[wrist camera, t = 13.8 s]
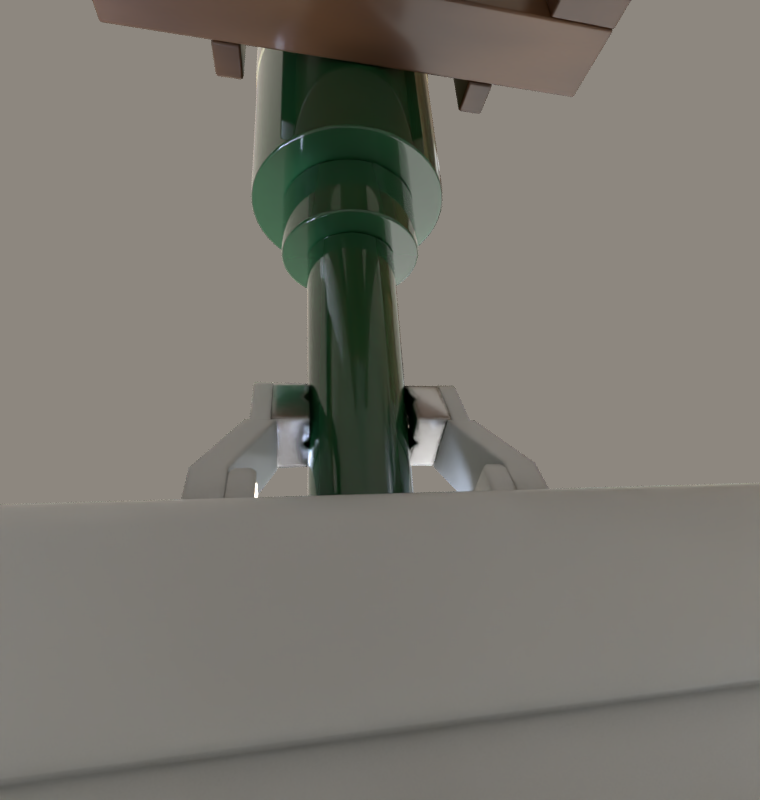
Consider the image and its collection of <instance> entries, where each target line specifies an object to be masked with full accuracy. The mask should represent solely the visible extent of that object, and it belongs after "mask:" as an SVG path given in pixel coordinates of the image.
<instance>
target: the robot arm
mask: <svg viewBox="0 0 760 800" xmlns="http://www.w3.org/2000/svg"><path fill="white" fill-rule="evenodd" d="M405 398H406V410H407V422H408V434H409V446H410V458H411V465H425V466H426V465H428V466H429V465H430V466H434V468H435V469H436V470H437V471H438V472H439V473H440V474H441V475H442V476H443V477H444V478H445V479H446V480H447V481H448V482H449V483H450V484H451V485H452V486H453V487H454V488H455V489H456V491H457V492H426V493H425V492H424V493H390V494H356V495H321V496H286V497H258V494H259V493H260V492H261V490H262V489H263V488H264V486H265V485H266V484H267V482H268V481H269V480H270V478H271V477H272V476H273V475H274V473H275V472H276V470H277V468H289V467H290V468H292V467H307V463H308V438H309V420H310V417H309V402H308V399H309V386H308V384H301V383H275V382H274V383H272V382H255V383H254V386H253V394H252V403H251V412H250V419H244V420H243V421H242V422H241V423H240V424H238V425H237V426H236V427H235V428H234V429H233V430H232V431H230V432H229V433H228V434H227V435H226V436H225V437H224V438H222V439H221V440H220V441H219V442H218V443H217V444H215V445H214V446H213V447H212V448H211V449H210V450H209V451H207V452H206V453H205V454H204V455H203V456H202V457H200V459H198V460H197V461H196V462H195V463H194V464H192V465H191V466H190V467H189V469H188V473H187V477H186V481H185V485H184V489H183V493H182V497H181V499H179V500H143V501H110V502H109V501H107V502H73V503H72V502H71V503H35V504H2V505H1V504H0V800H760V483H739V484H704V485H670V486H636V487H602V488H564V489H549V488H548V486H547V485H546V482H545V480H544V479H543V477H542V475H541V473H540V471H539V469H538V468H537V466H536V464H535V462H533V461H532V460H530V459H529V458H527V457H526V456H525V455H523V454H522V453H520V452H519V451H517V450H516V449H515V448H513V447H512V446H510V445H509V444H507V443H506V442H504V441H503V440H502V439H500V438H499V437H497V436H496V435H495V434H493V433H492V432H490V431H489V430H487V429H486V428H485V427H483V426H482V425H480V424H479V423H477V422H476V421H475V420H470V419H469V417H468V415H467V413H466V411H465V409H464V406H463V404H462V402H461V400H460V397H459V395H458V393H457V391H456V388H455V387H454V386H405Z"/></svg>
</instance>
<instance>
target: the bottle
mask: <svg viewBox="0 0 760 800" xmlns="http://www.w3.org/2000/svg"><path fill="white" fill-rule="evenodd" d="M256 87H257V97H256V98H257V99H256V115H255V134H254V152H253V173H252V190H251V197H252V198H251V200H252V207H253V212H254V215H255V217H256V220H257V222H258V224H259V226H260V227H261V229H262V231H263V232H264V233H265V235H266V236H267V237H268V238H269V239H270V240H271V241H272V242H273V243H274V244H275V245H276V246H277V247H278V248H280V249H281V250H282V260H283V263H284V266H285V268H286V270H287V272H288V273H289V274H290V276H291V277H292V278H293V279H294V280H295V281H296V282H298V283H299V284H300V285H302V286H304V287H305V288H307V357H308V358H307V370H308V371H307V377H308V378H307V379H308V380H307V381H308V383H307V384H308V386H309V399H308V402H309V417H310V420H309V438H308V496H321V495H356V494H390V493H413V482H412V470H411V458H410V446H409V434H408V422H407V410H406V398H405V386H404V376H403V375H404V374H403V363H402V350H401V340H400V327H399V315H398V303H397V291H396V286H397V285H398V284H400V283H401V282H402V281H404V280H405V279H406V278H407V277H408V276H409V275H410V273H411V272H412V270H413V268H414V267H415V264H416V261H417V258H418V246H419V245H420V244H421V243H422V242H423V241H424V240H425V239H426V238H427V237H428V236H429V234H430V233H431V231H432V230H433V229H434V227H435V225H436V223H437V221H438V218H439V215H440V212H441V208H442V201H443V199H442V186H441V178H440V171H439V163H438V156H437V149H436V142H435V135H434V127H433V120H432V114H431V106H430V98H429V91H428V74H425V73H418V72H412V71H406V70H400V69H393V68H387V67H381V66H374V65H368V64H362V63H355V62H349V61H343V60H337V59H330V58H324V57H318V56H311V55H305V54H299V53H293V52H286V51H280V50H274V49H267V48H261V47H258V52H257V72H256Z"/></svg>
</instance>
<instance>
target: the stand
mask: <svg viewBox="0 0 760 800" xmlns="http://www.w3.org/2000/svg"><path fill="white" fill-rule="evenodd" d="M92 1H93V3H94V7H95V10H96V12H97V15H98V18H99V20H100V21H101V22H104V23H111V24H116V25H123V26H129V27H135V28H142V29H148V30H154V31H161V32H167V33H173V34H179V35H186V36H192V37H199V38H204V39H211V45H212V51H213V58H214V65H215V72H216V74H217V75H218V76H221V77H229V78H236V79H243V76H244V63H245V49H246V45H249V46H255V47H261V48H267V49H274V50H280V51H286V52H293V53H299V54H305V55H311V56H318V57H324V58H330V59H337V60H343V61H349V62H355V63H362V64H368V65H374V66H381V67H387V68H393V69H400V70H406V71H412V72H418V73H425V74H431V75H437V76H444V77H450V78H454V83H455V90H456V96H457V102H458V108H459V110H460V111H464V112H471V113H480V112H481V110H482V108H483V106H484V103H485V101H486V98H487V96H488V94H489V91H490V89H491V85H492V84H494V85H500V86H507V87H513V88H519V89H525V90H532V91H539V92H545V93H551V94H557V95H563V96H570V97H573V96H574V95H575V93H576V91H577V90H578V88H579V86H580V85H581V83H582V81H583V80H584V78H585V76H586V75H587V73H588V71H589V70H590V68H591V66H592V65H593V63H594V61H595V60H596V58H597V56H598V54H599V53H600V51H601V50H602V48H603V46H604V45H605V43H606V41H607V39H608V38H609V36H610V35H611V33H612V29H614V28H615V26H616V25H617V23H618V21H619V20H620V18H621V16H622V15H623V13H624V11H625V10H626V8H627V6H628V5H629V3H630V1H631V0H92Z"/></svg>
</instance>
